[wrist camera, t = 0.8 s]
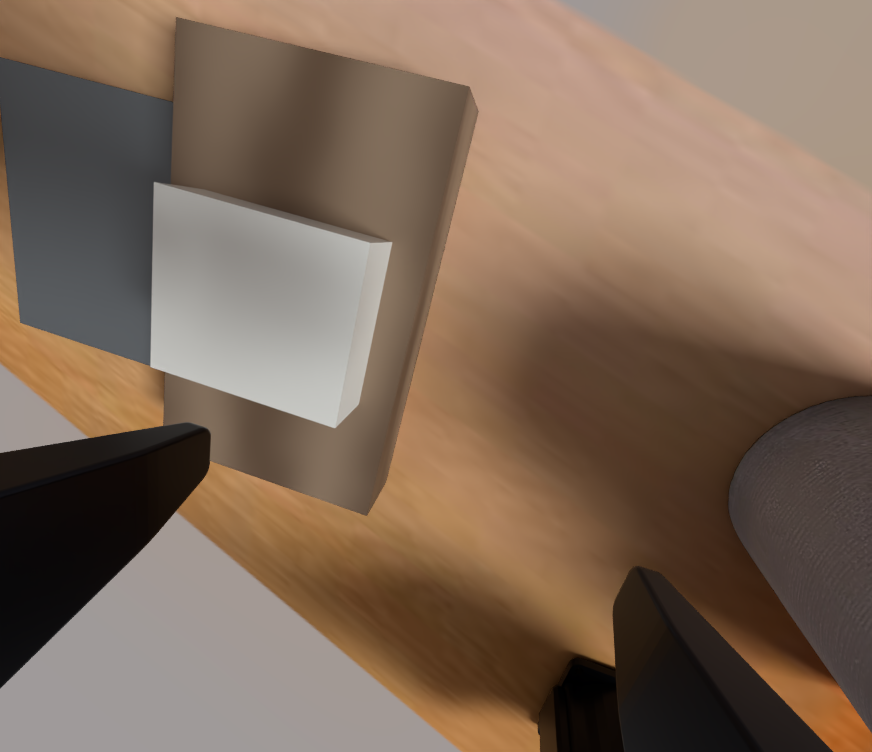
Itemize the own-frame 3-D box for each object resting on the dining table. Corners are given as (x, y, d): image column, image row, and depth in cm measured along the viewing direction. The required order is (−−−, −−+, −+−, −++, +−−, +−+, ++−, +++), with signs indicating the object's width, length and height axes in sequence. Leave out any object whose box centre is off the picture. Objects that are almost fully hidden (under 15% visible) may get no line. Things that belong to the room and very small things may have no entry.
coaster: (392, 242, 16) (370, 242, 14) (358, 404, 19) (335, 428, 16) (204, 189, 17) (153, 181, 15) (194, 351, 20) (150, 367, 17)
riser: (478, 111, 17) (469, 86, 14) (385, 482, 23) (366, 515, 20) (229, 50, 18) (176, 17, 15) (204, 420, 24) (162, 444, 22)
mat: (215, 114, 19) (208, 111, 19) (198, 377, 24) (193, 380, 23) (5, 59, 20) (-5, 56, 20) (28, 321, 25) (20, 322, 24)
